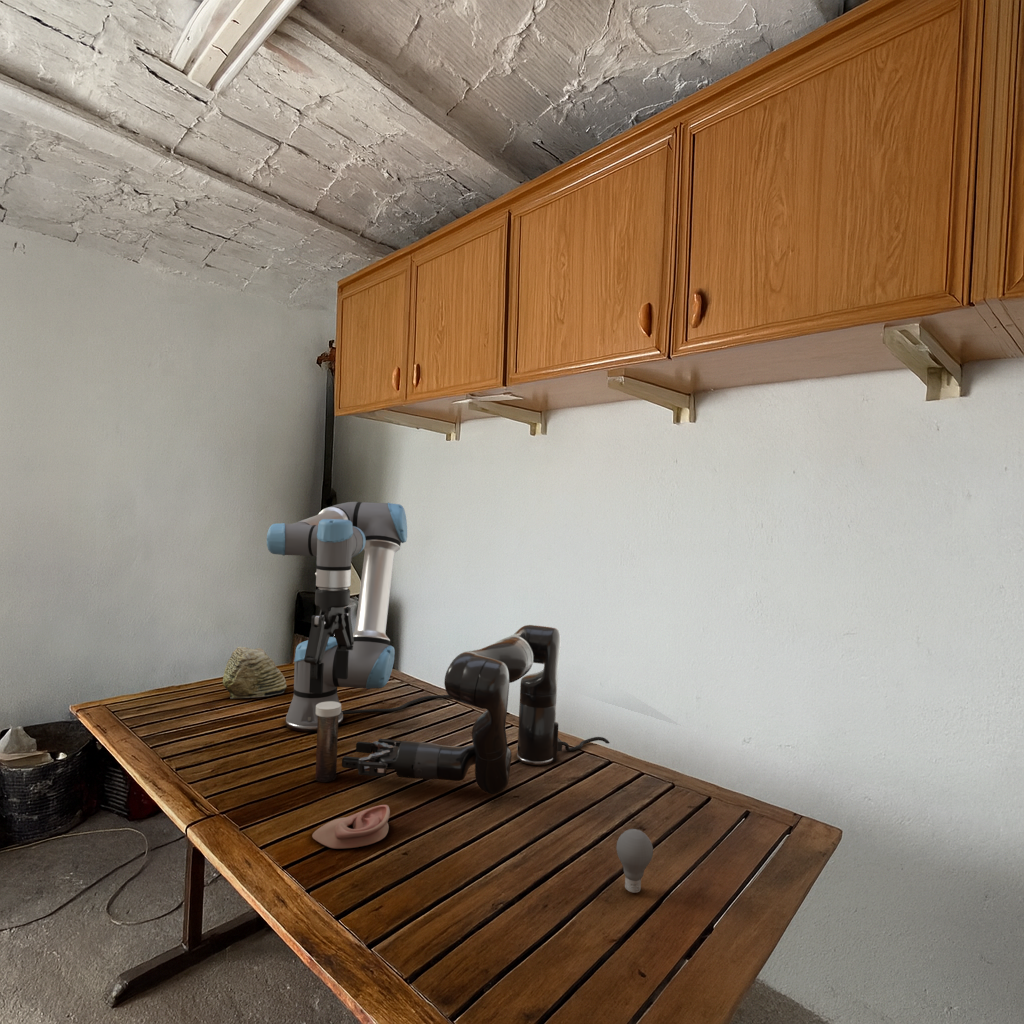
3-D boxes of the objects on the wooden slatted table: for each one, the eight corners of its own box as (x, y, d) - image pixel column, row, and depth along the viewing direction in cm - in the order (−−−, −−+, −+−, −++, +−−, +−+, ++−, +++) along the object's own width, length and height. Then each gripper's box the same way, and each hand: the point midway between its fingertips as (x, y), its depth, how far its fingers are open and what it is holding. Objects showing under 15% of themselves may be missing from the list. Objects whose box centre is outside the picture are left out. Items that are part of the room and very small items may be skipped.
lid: (310, 712, 142) (310, 705, 142) (331, 707, 146) (331, 699, 146) (325, 718, 139) (325, 711, 138) (346, 713, 143) (346, 705, 143)
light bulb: (610, 879, 108) (613, 822, 108) (644, 879, 109) (647, 822, 109) (619, 902, 102) (622, 840, 102) (655, 901, 103) (658, 840, 103)
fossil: (218, 695, 195) (220, 647, 195) (278, 685, 208) (279, 640, 207) (228, 703, 189) (230, 653, 188) (289, 692, 201) (290, 645, 201)
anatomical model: (304, 822, 115) (334, 794, 126) (303, 844, 115) (333, 813, 126) (372, 833, 112) (397, 803, 124) (371, 855, 113) (396, 823, 124)
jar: (311, 778, 142) (314, 707, 142) (328, 771, 146) (331, 702, 146) (323, 784, 140) (325, 712, 139) (340, 778, 143) (343, 707, 143)
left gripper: (342, 580, 154) (338, 670, 155) (289, 593, 131) (285, 699, 132) (370, 583, 153) (367, 673, 153) (322, 596, 130) (318, 702, 130)
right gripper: (428, 731, 147) (361, 726, 149) (412, 756, 133) (338, 749, 134) (427, 763, 147) (359, 757, 149) (411, 791, 133) (336, 784, 135)
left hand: (329, 685), depth 142 cm, fingers open, 11 cm apart
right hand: (349, 754), depth 142 cm, fingers open, 8 cm apart
